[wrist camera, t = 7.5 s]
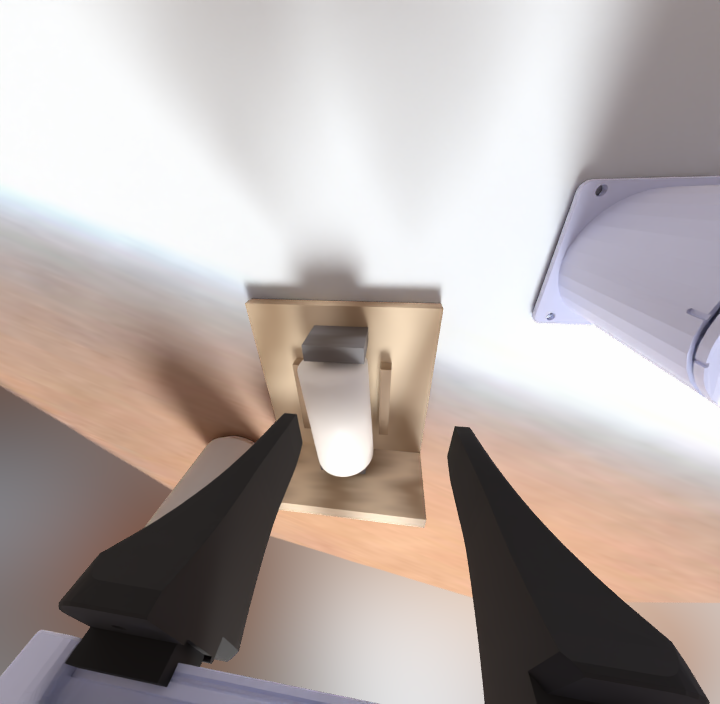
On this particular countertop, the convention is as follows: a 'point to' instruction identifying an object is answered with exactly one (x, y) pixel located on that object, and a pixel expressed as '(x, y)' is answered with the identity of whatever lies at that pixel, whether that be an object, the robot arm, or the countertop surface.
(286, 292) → the countertop surface
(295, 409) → the roll holder
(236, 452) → the can
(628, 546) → the countertop surface
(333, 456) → the cylinder
